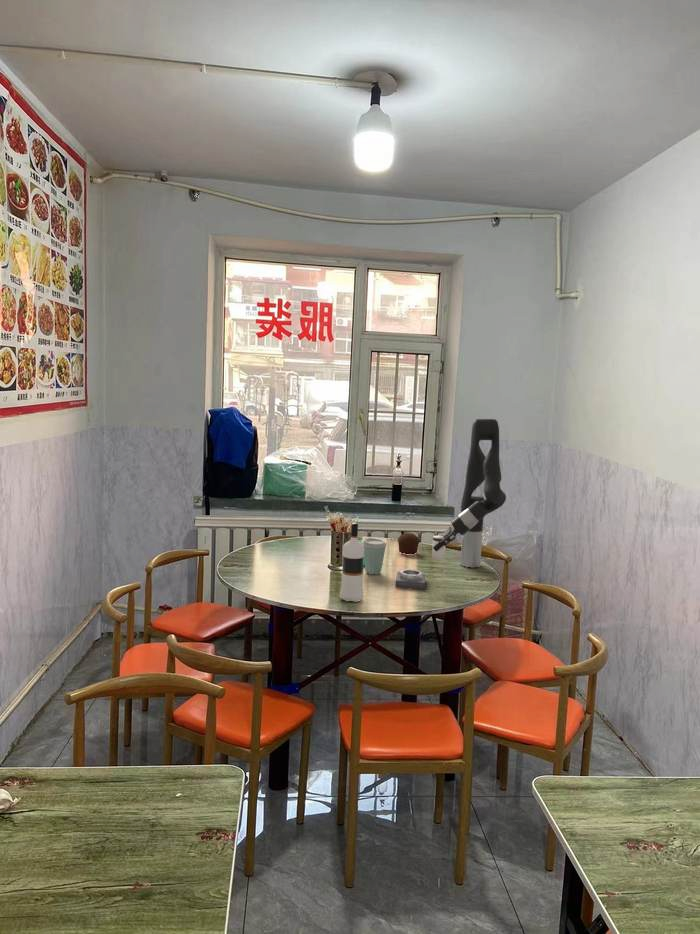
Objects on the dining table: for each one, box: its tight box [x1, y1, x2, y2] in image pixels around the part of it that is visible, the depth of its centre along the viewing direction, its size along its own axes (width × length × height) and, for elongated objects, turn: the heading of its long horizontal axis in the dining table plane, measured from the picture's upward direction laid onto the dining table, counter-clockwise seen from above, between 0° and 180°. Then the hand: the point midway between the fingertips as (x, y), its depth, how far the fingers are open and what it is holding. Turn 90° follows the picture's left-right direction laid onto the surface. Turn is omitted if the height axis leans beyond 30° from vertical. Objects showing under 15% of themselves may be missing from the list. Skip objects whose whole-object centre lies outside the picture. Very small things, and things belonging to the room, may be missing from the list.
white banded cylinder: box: [431, 535, 447, 561], centre depth 286 cm, size 6×6×9 cm
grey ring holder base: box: [394, 568, 426, 591], centre depth 288 cm, size 14×12×5 cm
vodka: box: [339, 522, 365, 601], centre depth 262 cm, size 9×9×30 cm
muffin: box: [396, 532, 421, 554], centre depth 341 cm, size 12×11×10 cm
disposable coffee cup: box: [362, 537, 387, 575], centre depth 301 cm, size 11×11×15 cm
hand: (434, 547), depth 286 cm, fingers closed on white banded cylinder, 5 cm apart
